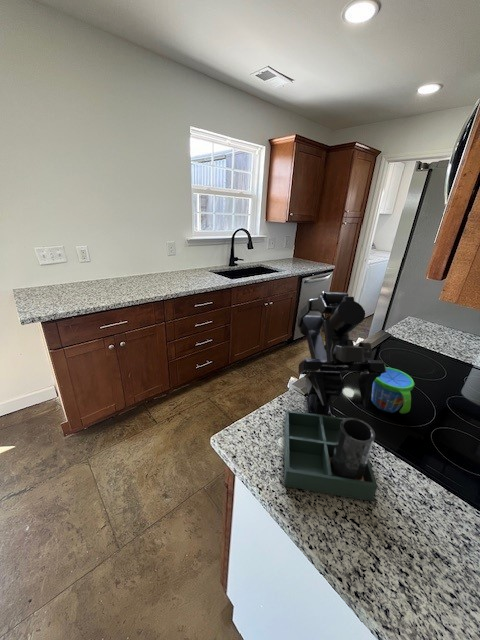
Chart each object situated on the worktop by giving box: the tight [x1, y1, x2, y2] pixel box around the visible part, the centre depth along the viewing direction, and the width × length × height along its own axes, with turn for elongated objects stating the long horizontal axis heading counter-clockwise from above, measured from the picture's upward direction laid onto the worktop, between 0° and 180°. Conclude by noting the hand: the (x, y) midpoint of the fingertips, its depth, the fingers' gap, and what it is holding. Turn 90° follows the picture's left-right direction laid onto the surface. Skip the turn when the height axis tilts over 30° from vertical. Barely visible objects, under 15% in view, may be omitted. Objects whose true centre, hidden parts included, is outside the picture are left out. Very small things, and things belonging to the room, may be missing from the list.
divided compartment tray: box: [283, 409, 378, 502], centre depth 62 cm, size 18×18×5 cm
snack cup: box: [370, 366, 416, 414], centre depth 78 cm, size 16×10×10 cm
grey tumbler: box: [330, 417, 376, 481], centre depth 55 cm, size 6×6×13 cm
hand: (344, 406), depth 59 cm, fingers open, 9 cm apart
